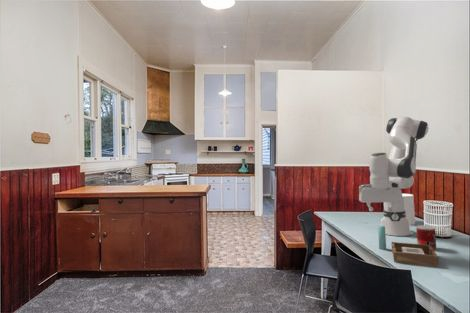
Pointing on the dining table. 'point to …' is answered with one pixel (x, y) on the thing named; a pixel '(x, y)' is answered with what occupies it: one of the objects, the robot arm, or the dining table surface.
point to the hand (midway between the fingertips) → (380, 210)
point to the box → (414, 254)
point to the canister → (409, 208)
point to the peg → (382, 237)
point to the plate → (412, 250)
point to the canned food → (426, 236)
